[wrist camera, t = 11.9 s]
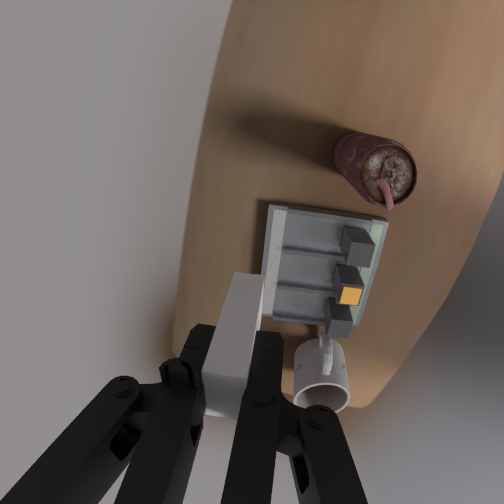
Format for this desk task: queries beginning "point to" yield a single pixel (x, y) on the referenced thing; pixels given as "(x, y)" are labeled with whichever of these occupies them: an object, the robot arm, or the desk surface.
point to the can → (376, 167)
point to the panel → (311, 260)
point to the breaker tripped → (347, 285)
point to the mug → (320, 374)
